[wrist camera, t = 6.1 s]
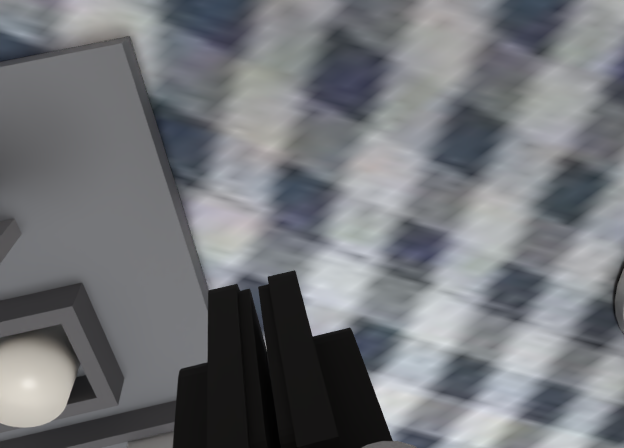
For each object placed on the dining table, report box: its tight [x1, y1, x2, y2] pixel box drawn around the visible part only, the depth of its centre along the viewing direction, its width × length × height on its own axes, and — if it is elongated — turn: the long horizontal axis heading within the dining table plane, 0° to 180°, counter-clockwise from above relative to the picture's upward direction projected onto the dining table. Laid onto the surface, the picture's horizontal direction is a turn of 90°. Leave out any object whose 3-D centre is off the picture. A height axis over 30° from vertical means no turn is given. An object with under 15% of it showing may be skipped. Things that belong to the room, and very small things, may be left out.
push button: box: [0, 325, 80, 428], centre depth 26 cm, size 4×4×3 cm
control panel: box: [0, 37, 209, 448], centre depth 27 cm, size 17×25×5 cm
